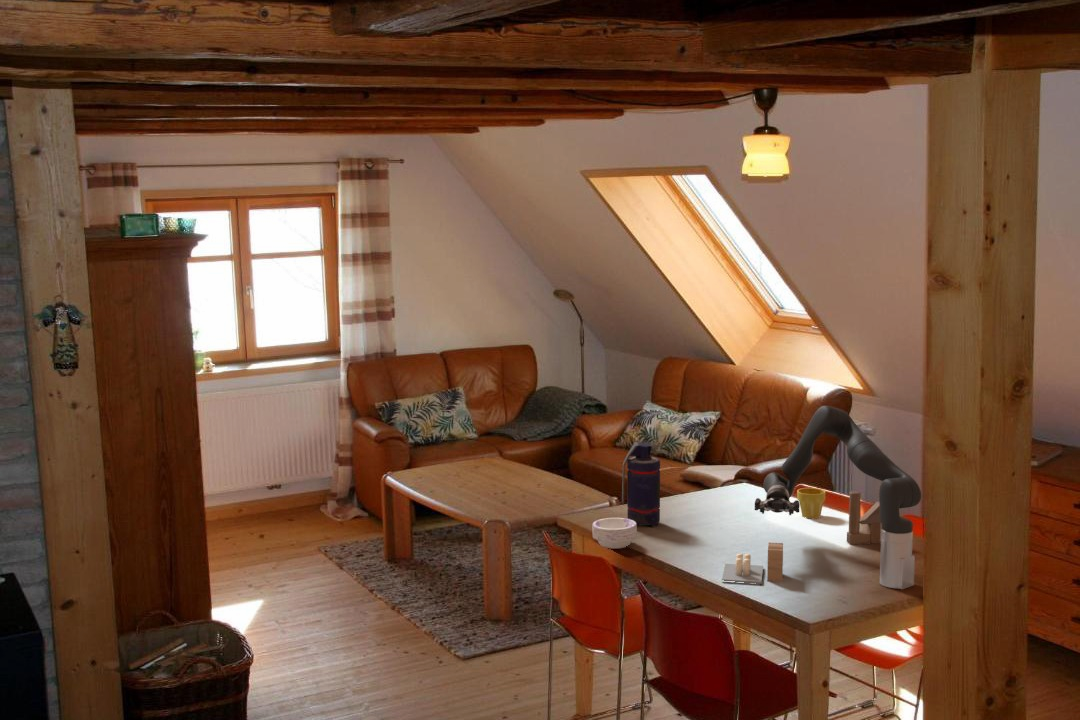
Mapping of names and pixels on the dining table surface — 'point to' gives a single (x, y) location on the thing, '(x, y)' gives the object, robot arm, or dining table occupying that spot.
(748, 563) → the peg stand
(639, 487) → the grenade
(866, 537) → the wooden block structure
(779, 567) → the brown rectangular block
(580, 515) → the dining table surface
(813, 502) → the plant pot
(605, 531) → the white bowl
